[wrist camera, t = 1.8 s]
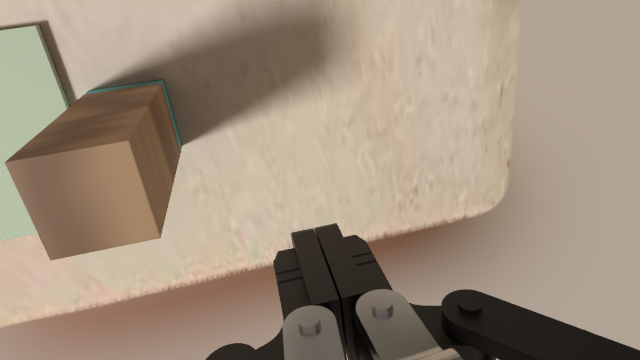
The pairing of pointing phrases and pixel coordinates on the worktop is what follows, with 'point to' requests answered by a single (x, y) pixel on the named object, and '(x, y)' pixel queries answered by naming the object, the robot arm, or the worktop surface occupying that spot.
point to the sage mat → (23, 113)
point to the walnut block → (101, 170)
